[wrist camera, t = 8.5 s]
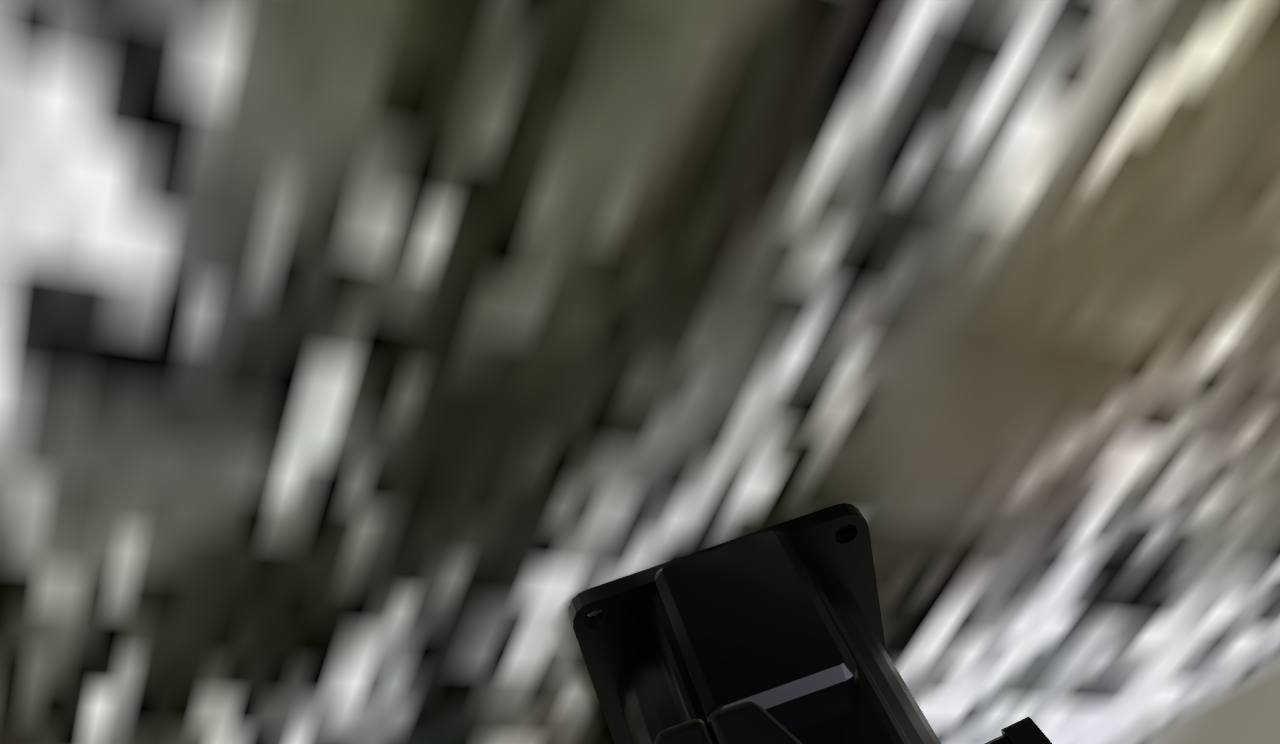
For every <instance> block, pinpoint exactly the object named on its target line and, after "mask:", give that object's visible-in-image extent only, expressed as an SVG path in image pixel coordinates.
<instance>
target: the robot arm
mask: <svg viewBox="0 0 1280 744" xmlns="http://www.w3.org/2000/svg"><path fill="white" fill-rule="evenodd" d="M848 524H849V525H848ZM844 525H848V526H847V527H846V528H845V529H844V530H842V531H840V532H836V531H837V530H838V529H839V528H840V527H842V526H844ZM598 610H601V611H602V612H601V613H599V614H597V615H596V616H587V615H588V614H589V613H591V612H593V611H598ZM569 612H570V618H571V621H572V625H573V628H574V631H575V634H576V637H577V640H578V642H579V645H580V648H581V651H582V654H583V657H584V659H585V662H586V665H587V668H588V671H589V674H590V676H591V679H592V682H593V685H594V688H595V691H596V693H597V696H598V699H599V702H600V705H601V708H602V710H603V713H604V716H605V719H606V722H607V725H608V727H609V730H610V733H611V736H612V739H613V742H614V744H941V743H940V741H939V740H938V738H937V736H936V735H935V733H934V731H933V730H932V728H931V726H930V725H929V723H928V721H927V719H926V718H925V716H924V714H923V713H922V711H921V709H920V708H919V706H918V704H917V703H916V701H915V699H914V698H913V696H912V694H911V693H910V691H909V689H908V688H907V686H906V684H905V683H904V681H903V679H902V678H901V676H900V674H899V672H898V671H897V669H896V667H895V666H894V664H893V662H892V661H891V659H890V657H889V656H888V654H887V652H886V648H885V641H884V634H883V626H882V619H881V612H880V605H879V598H878V591H877V584H876V577H875V570H874V563H873V556H872V549H871V542H870V535H869V528H868V525H867V522H866V520H865V519H864V517H863V516H862V514H861V513H860V511H859V510H858V508H856V507H855V506H853V505H851V504H845V503H844V504H838V505H834V506H831V507H828V508H825V509H822V510H820V511H817V512H814V513H811V514H808V515H805V516H802V517H799V518H796V519H793V520H790V521H787V522H784V523H781V524H779V525H776V526H773V527H770V528H767V529H764V530H761V531H758V532H755V533H752V534H749V535H746V536H743V537H740V538H737V539H735V540H732V541H729V542H726V543H723V544H720V545H717V546H714V547H711V548H708V549H705V550H702V551H699V552H696V553H694V554H691V555H688V556H685V557H682V558H679V559H676V560H673V561H670V562H667V563H664V564H661V565H658V566H655V567H652V568H650V569H647V570H644V571H641V572H638V573H635V574H632V575H629V576H626V577H623V578H620V579H617V580H614V581H611V582H608V583H606V584H603V585H600V586H597V587H594V588H591V589H588V590H586V591H584V592H582V593H580V594H578V595H577V596H576V597H575V598H574V599H573V600H572V602H571V605H570V607H569ZM1001 731H1002V736H1000V737H998V738H996V739H994V740H992V741H990V742H987V743H985V744H1052V743H1051V742H1050V740H1049V739H1048V738H1047V737H1046V736H1045V735H1044V733H1043V732H1042V731H1041V730H1040V729H1039V728H1038V726H1037V725H1036V724H1035V723H1034V722H1033V721H1032V719H1031V718H1030V717H1027V718H1025V719H1023V720H1021V721H1019V722H1016V723H1014V724H1012V725H1010V726H1008V727H1006V728H1004V729H1002V730H1001Z"/></svg>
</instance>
